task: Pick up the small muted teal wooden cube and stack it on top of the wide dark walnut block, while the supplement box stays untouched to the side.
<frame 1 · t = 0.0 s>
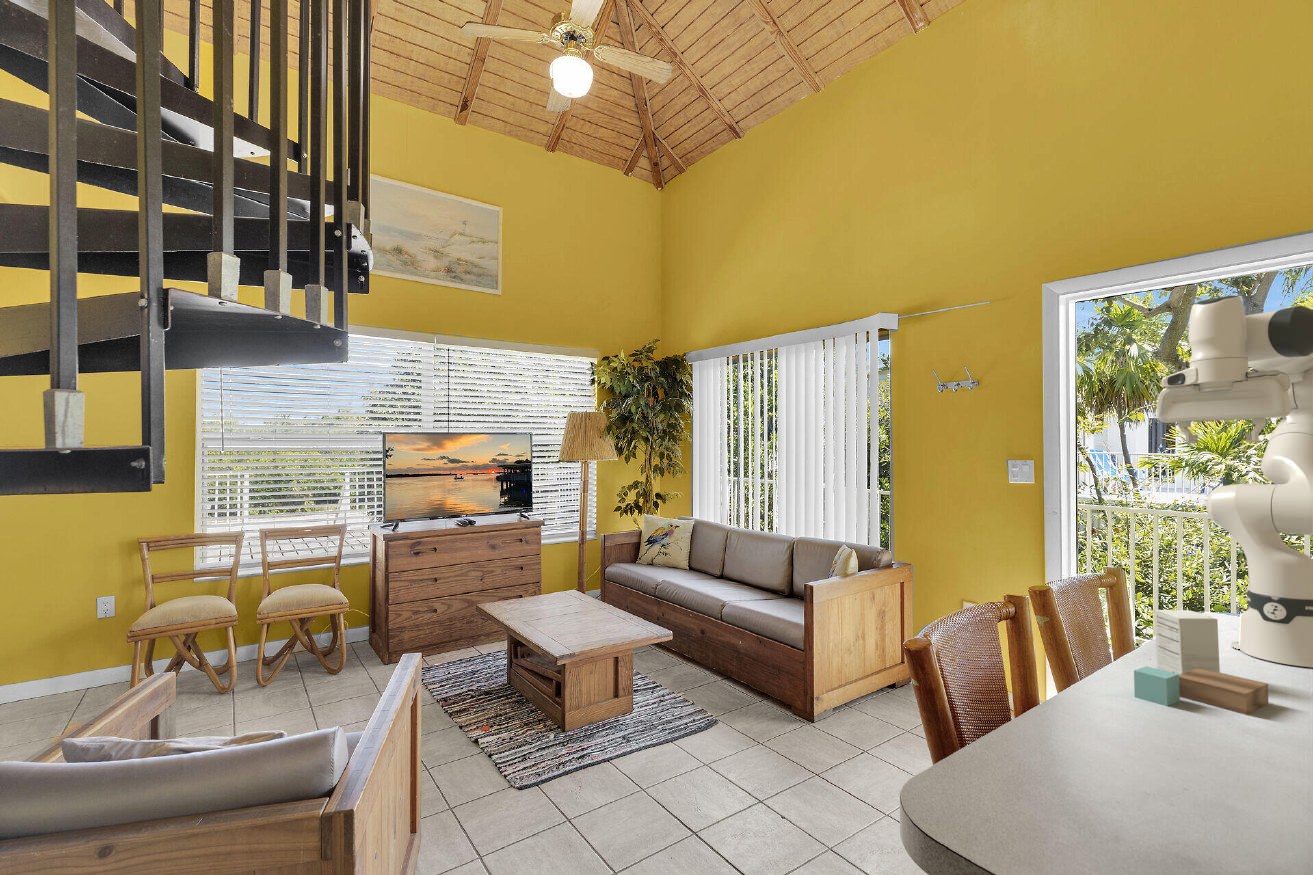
hand: (1221, 442, 124), 48 cm above the table, tool pointing down, fingers open, 8 cm apart
walnut block: (1221, 701, 113), on the table
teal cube: (1157, 699, 114), on the table
supplement box: (1187, 676, 127), on the table
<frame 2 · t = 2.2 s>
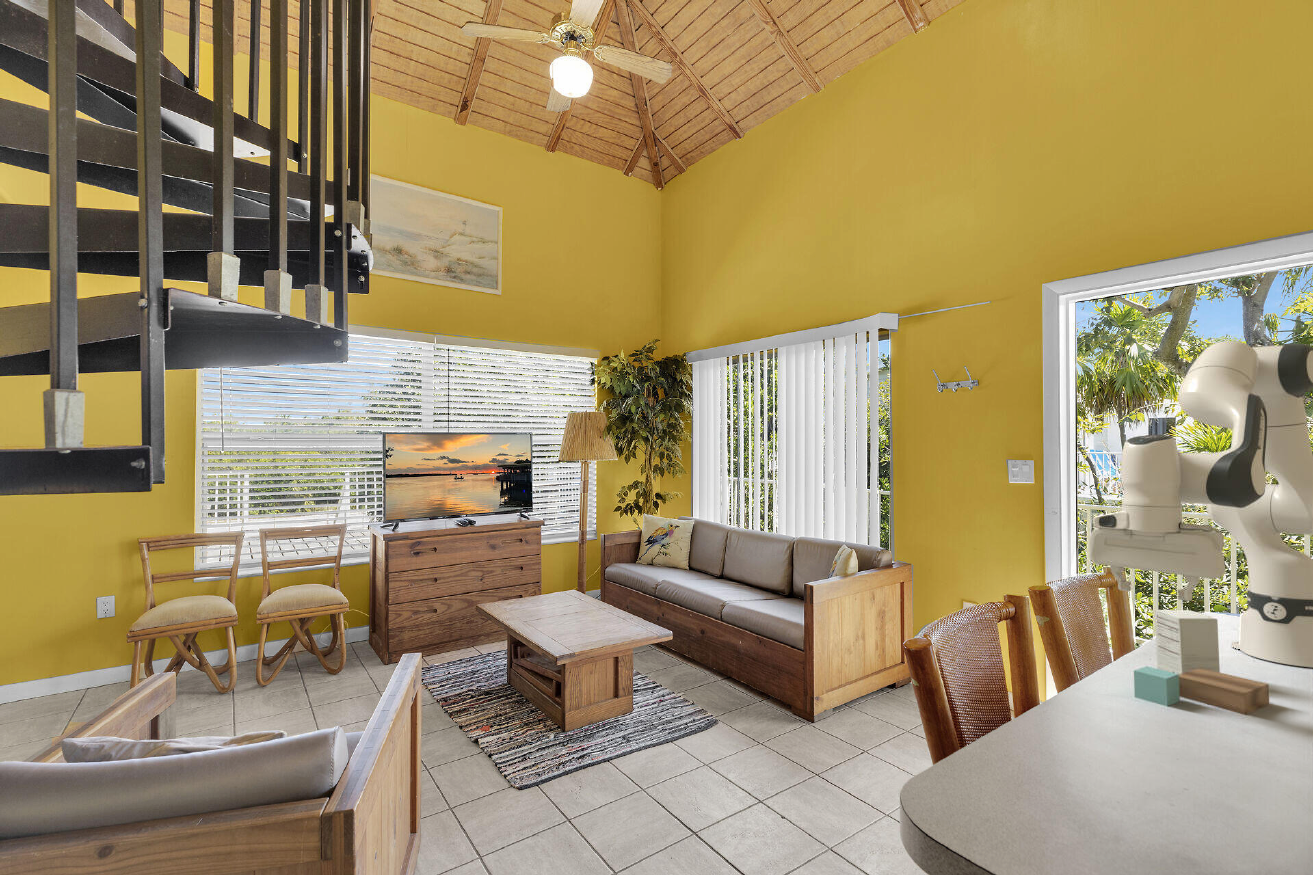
hand: (1153, 595, 115), 19 cm above the table, tool pointing down, fingers open, 8 cm apart
nothing on the table moved.
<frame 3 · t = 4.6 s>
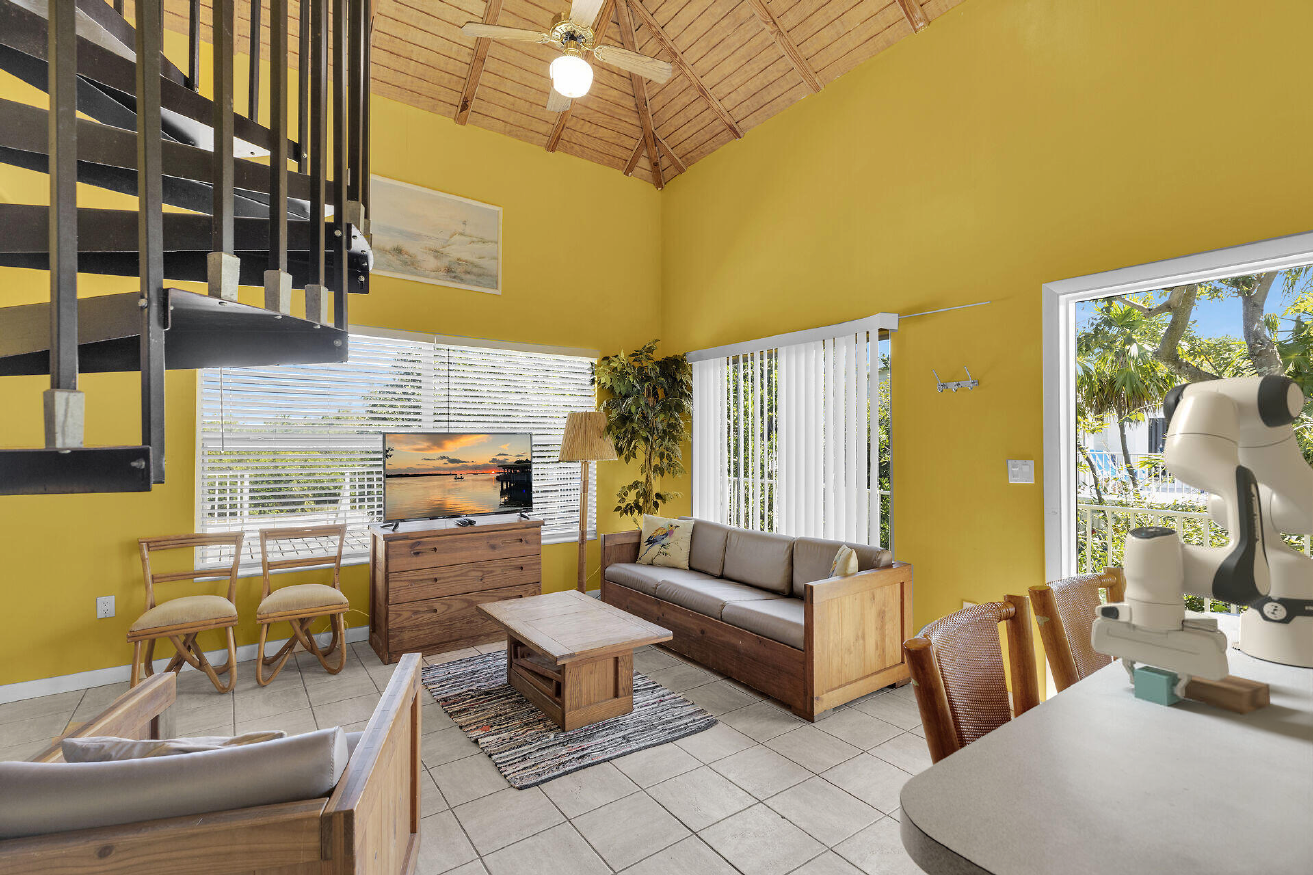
hand: (1156, 689, 114), 2 cm above the table, tool pointing down, fingers closed on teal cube, 5 cm apart
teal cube: (1157, 698, 114), on the table, touching gripper
everything else where it was.
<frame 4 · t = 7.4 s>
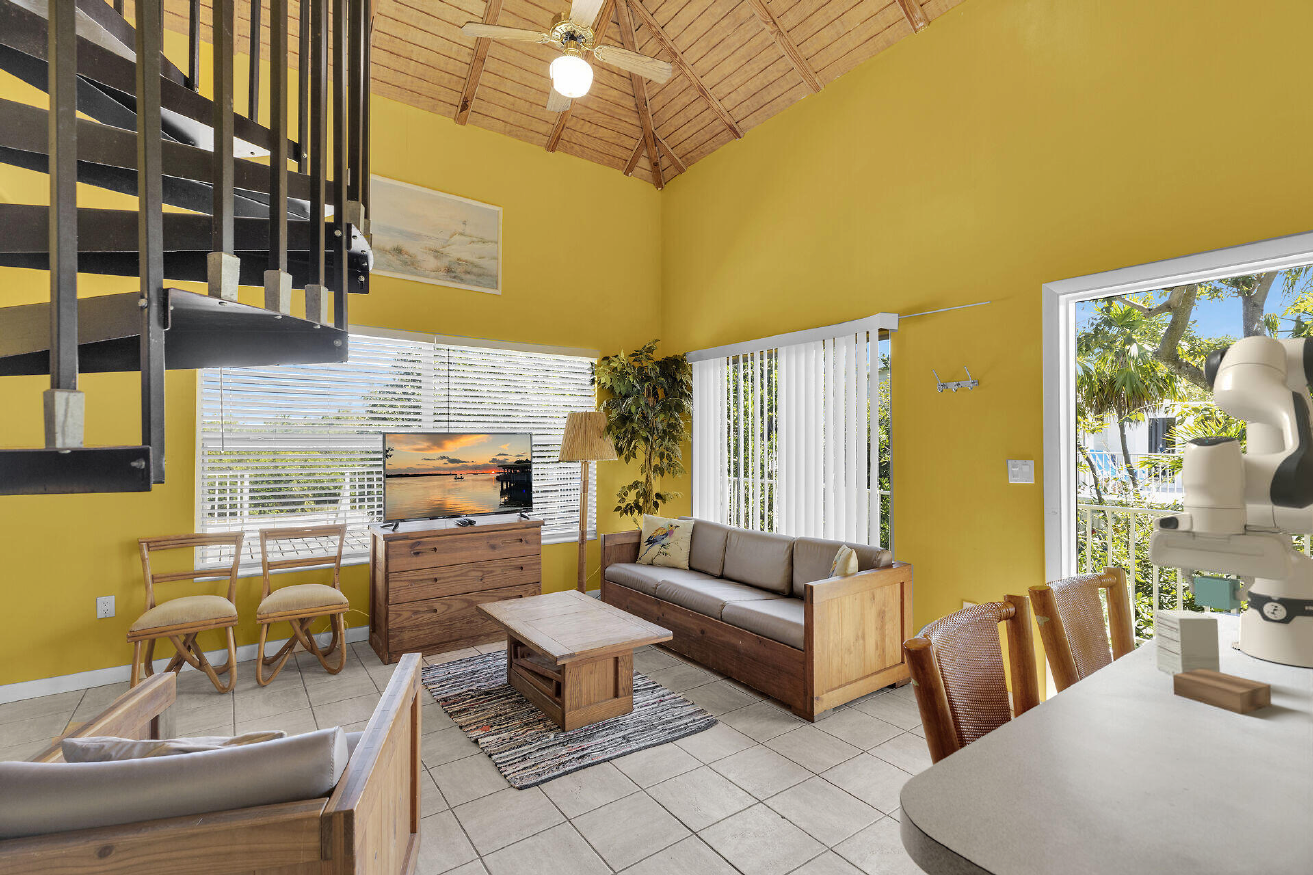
hand: (1217, 596, 114), 19 cm above the table, tool pointing down, fingers closed on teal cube, 5 cm apart
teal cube: (1217, 605, 114), point 17 cm above the table, touching gripper
everything else where it was.
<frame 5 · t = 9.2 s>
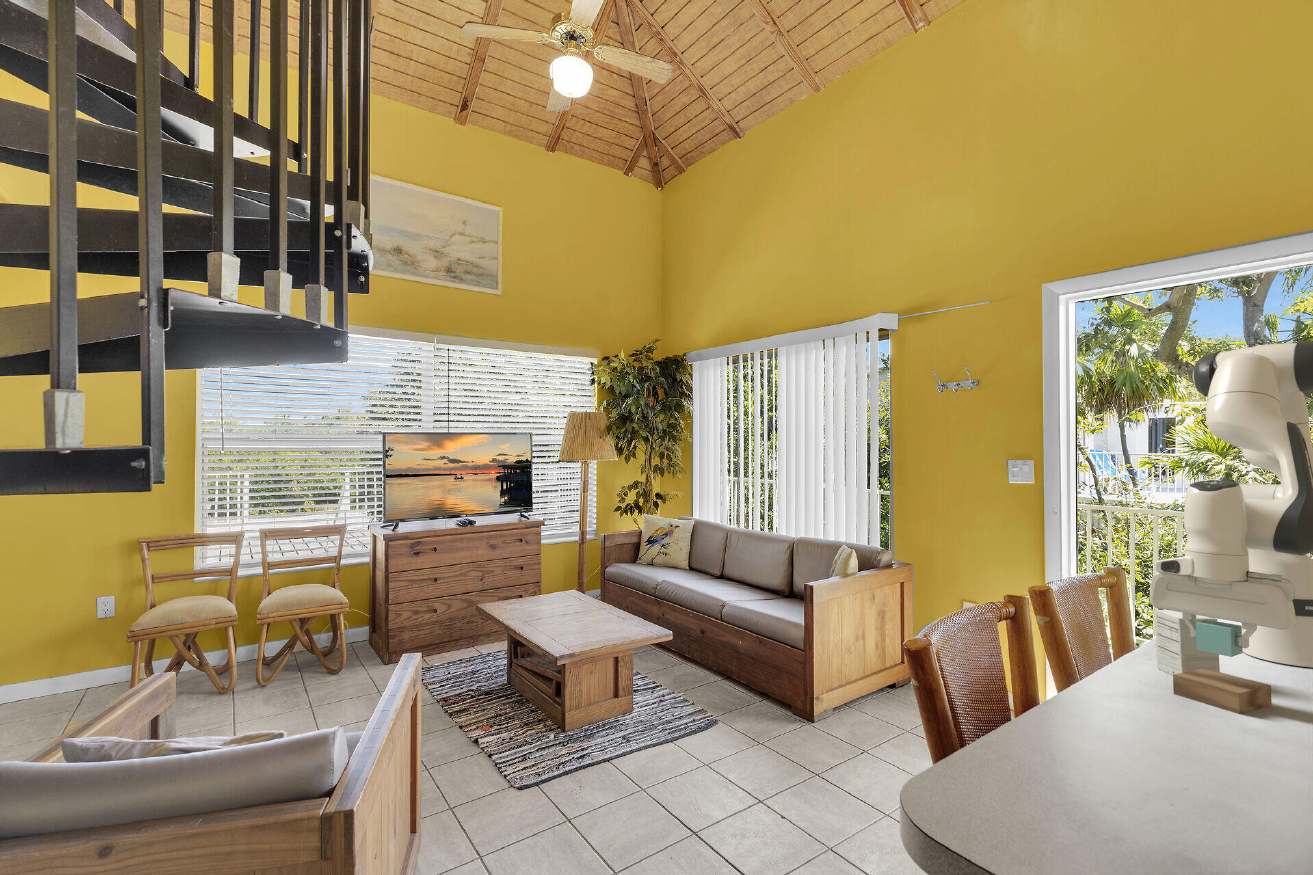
hand: (1219, 642, 114), 10 cm above the table, tool pointing down, fingers closed on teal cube, 5 cm apart
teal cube: (1219, 651, 114), point 9 cm above the table, touching gripper
everything else where it was.
when the fingers open (7 cm above the table, at t = 10.5 s): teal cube drops 2 cm, point 4 cm above the table.
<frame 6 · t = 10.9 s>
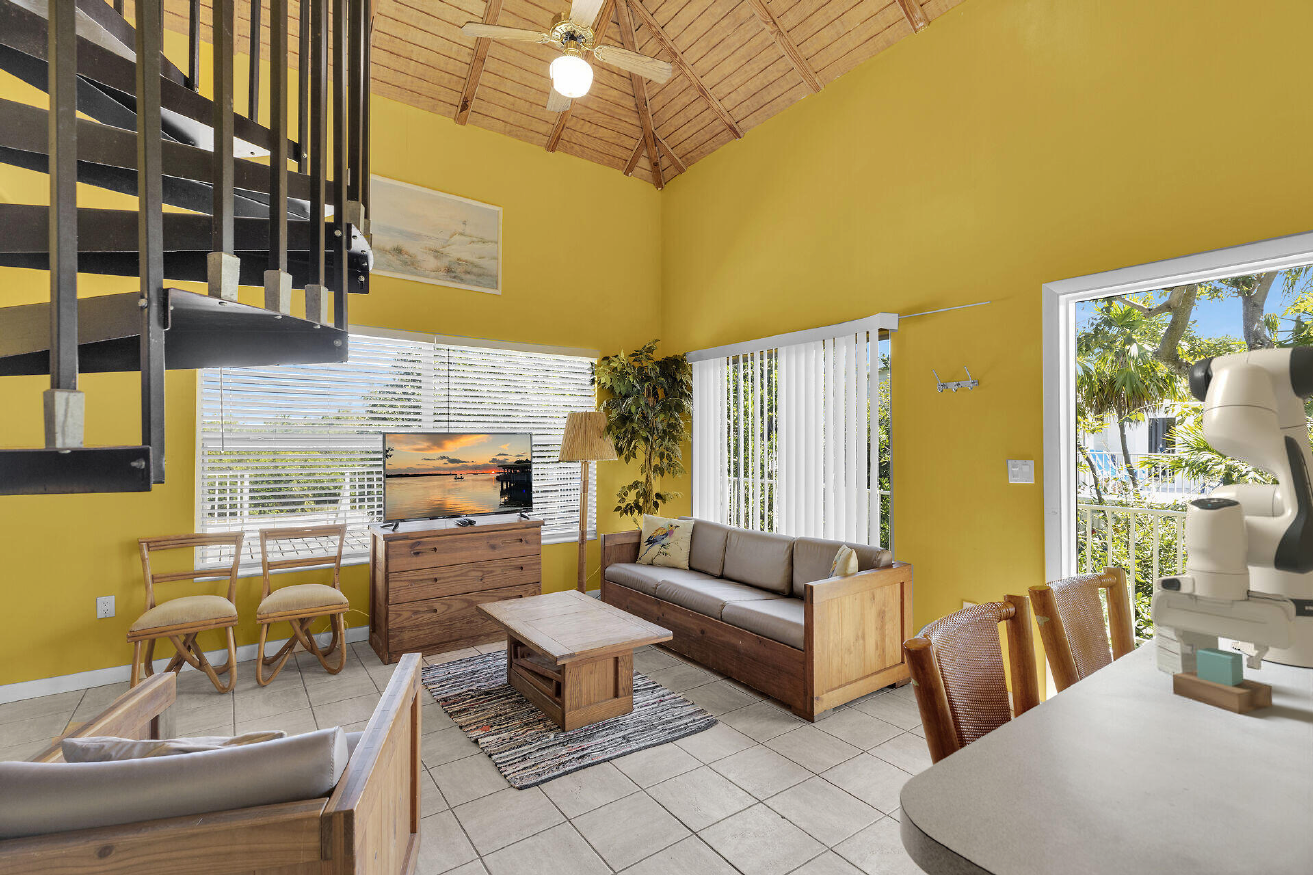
hand: (1220, 660, 114), 7 cm above the table, tool pointing down, fingers open, 8 cm apart
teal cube: (1220, 679, 114), point 4 cm above the table
everything else where it was.
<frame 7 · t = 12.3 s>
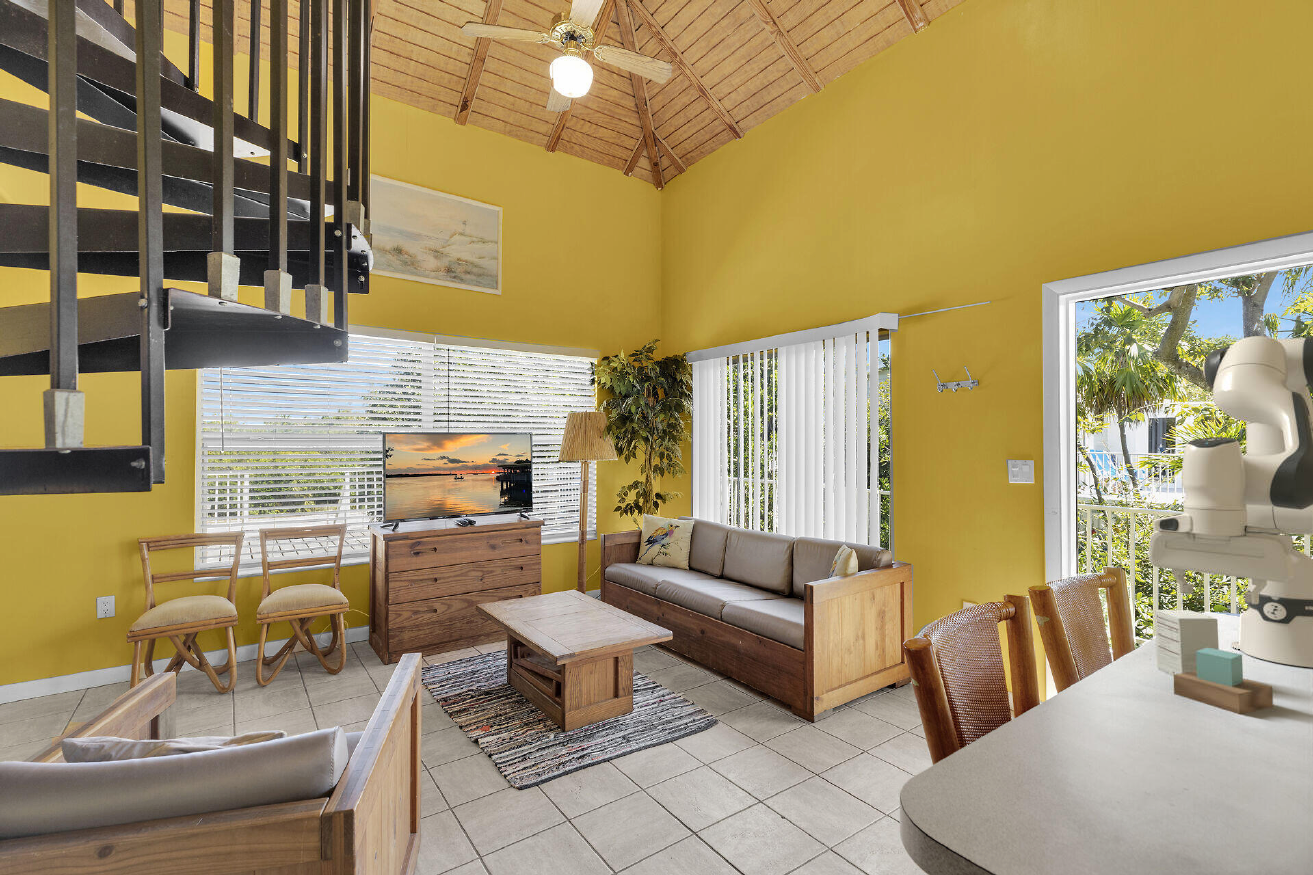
hand: (1218, 598, 114), 19 cm above the table, tool pointing down, fingers open, 8 cm apart
walnut block: (1222, 702, 113), on the table, touching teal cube
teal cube: (1219, 680, 114), point 4 cm above the table, touching walnut block
everything else where it was.
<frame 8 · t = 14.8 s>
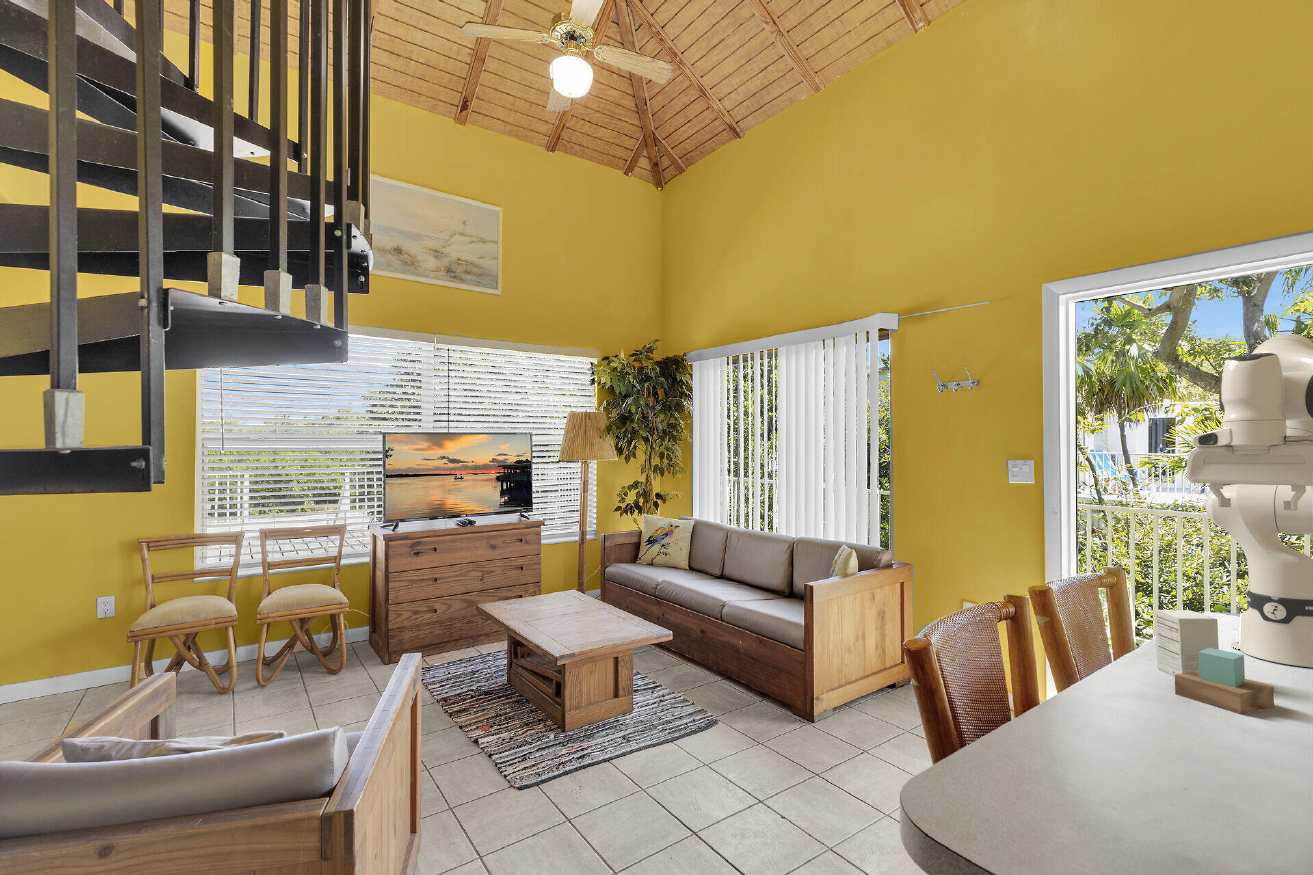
hand: (1256, 508, 117), 35 cm above the table, tool pointing down, fingers open, 8 cm apart
nothing on the table moved.
at the end: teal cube 0.2 cm off-centre on the walnut block, point 4.0 cm above the walnut block's base; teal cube tilted 0°; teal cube touching walnut block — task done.
